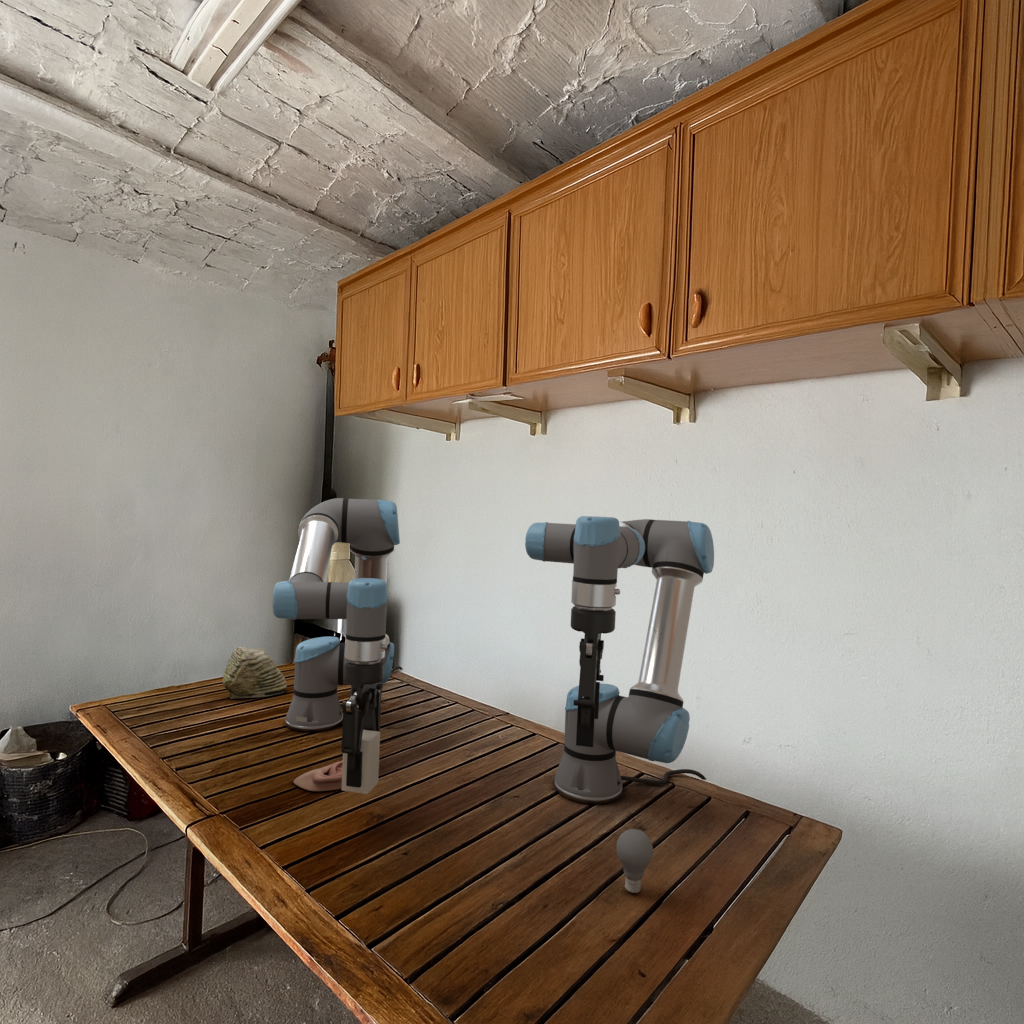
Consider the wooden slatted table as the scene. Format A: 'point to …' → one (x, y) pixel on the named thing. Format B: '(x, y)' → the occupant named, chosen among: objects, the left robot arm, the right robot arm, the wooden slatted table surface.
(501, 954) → the wooden slatted table surface
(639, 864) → the light bulb
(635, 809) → the wooden slatted table surface
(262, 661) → the fossil
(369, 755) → the block
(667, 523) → the right robot arm
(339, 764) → the anatomical model
